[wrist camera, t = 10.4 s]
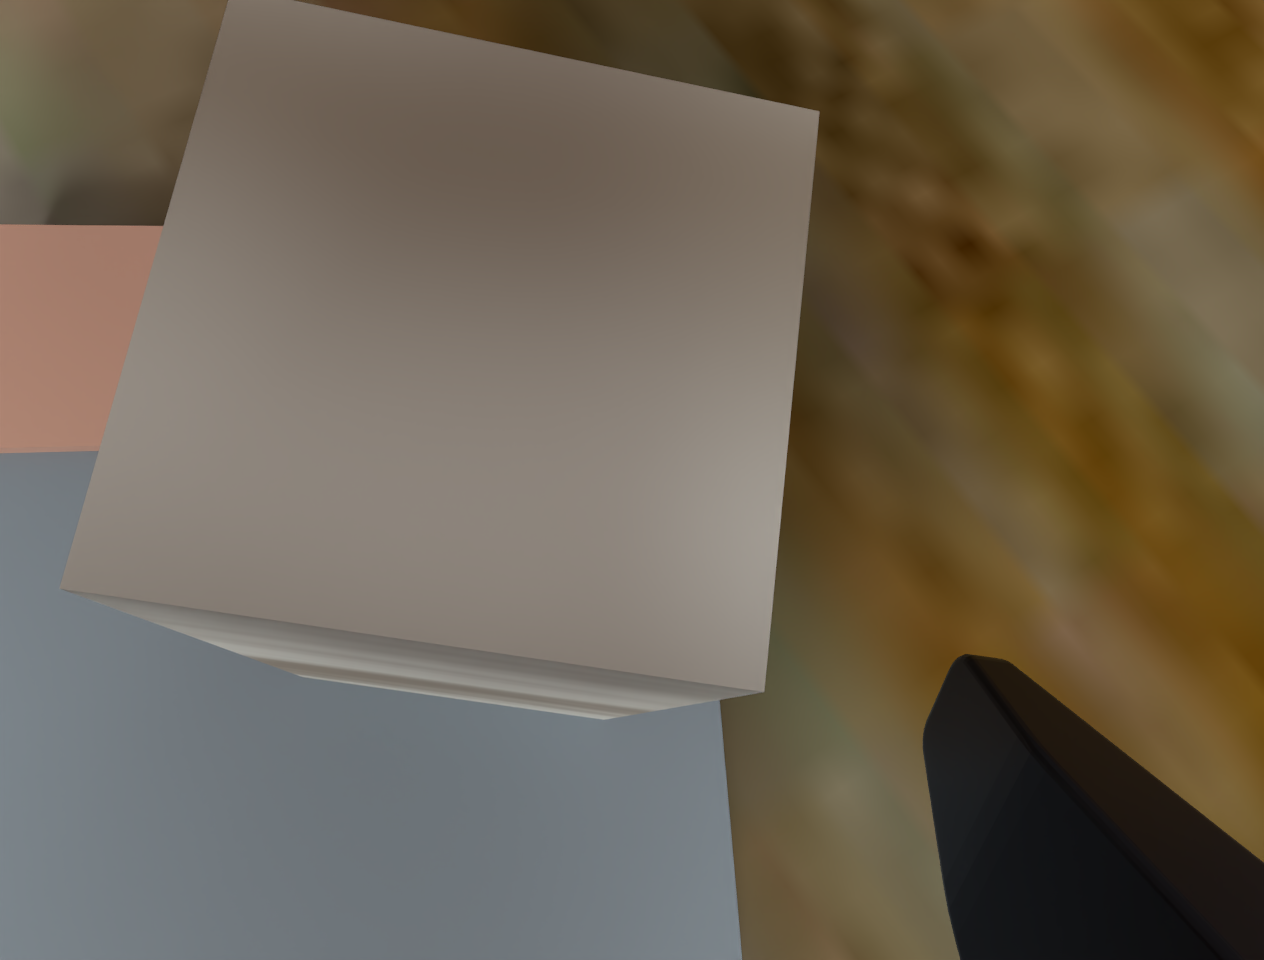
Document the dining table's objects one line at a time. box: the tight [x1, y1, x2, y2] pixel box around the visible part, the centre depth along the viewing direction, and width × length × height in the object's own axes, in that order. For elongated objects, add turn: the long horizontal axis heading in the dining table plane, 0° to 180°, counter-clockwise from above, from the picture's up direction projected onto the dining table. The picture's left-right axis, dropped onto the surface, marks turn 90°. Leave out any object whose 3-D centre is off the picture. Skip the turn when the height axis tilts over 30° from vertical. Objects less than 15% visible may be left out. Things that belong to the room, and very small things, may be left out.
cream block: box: [59, 0, 820, 720], centre depth 13 cm, size 5×5×10 cm
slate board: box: [0, 225, 742, 960], centre depth 17 cm, size 14×12×1 cm
